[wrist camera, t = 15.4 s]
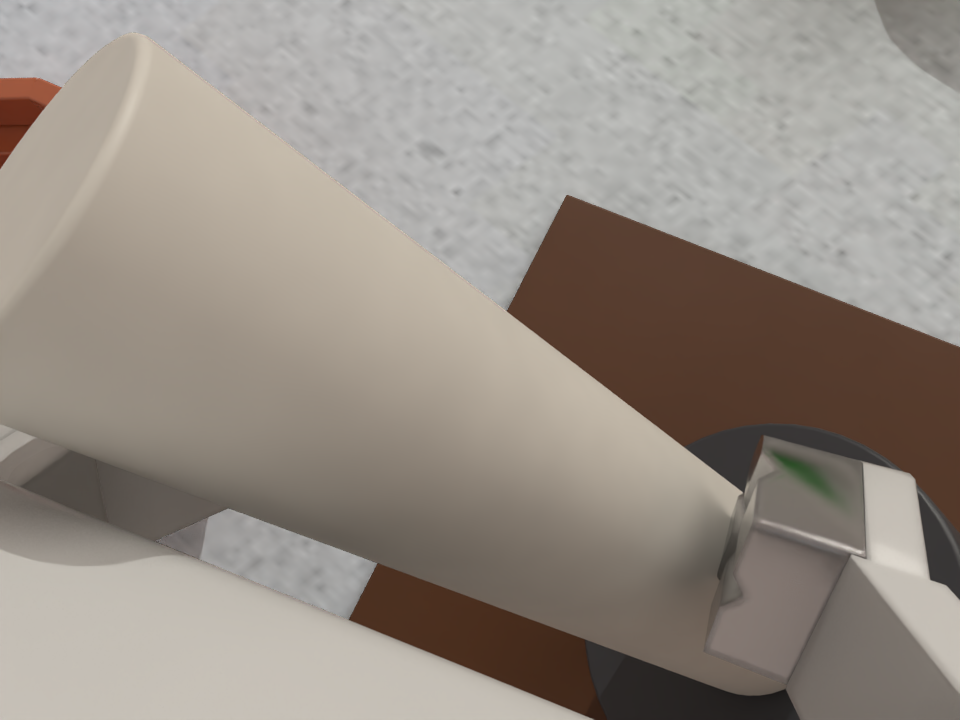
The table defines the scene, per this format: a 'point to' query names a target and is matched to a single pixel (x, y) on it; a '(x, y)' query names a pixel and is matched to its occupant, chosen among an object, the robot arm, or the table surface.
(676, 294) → the board
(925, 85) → the table surface
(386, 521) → the brush
